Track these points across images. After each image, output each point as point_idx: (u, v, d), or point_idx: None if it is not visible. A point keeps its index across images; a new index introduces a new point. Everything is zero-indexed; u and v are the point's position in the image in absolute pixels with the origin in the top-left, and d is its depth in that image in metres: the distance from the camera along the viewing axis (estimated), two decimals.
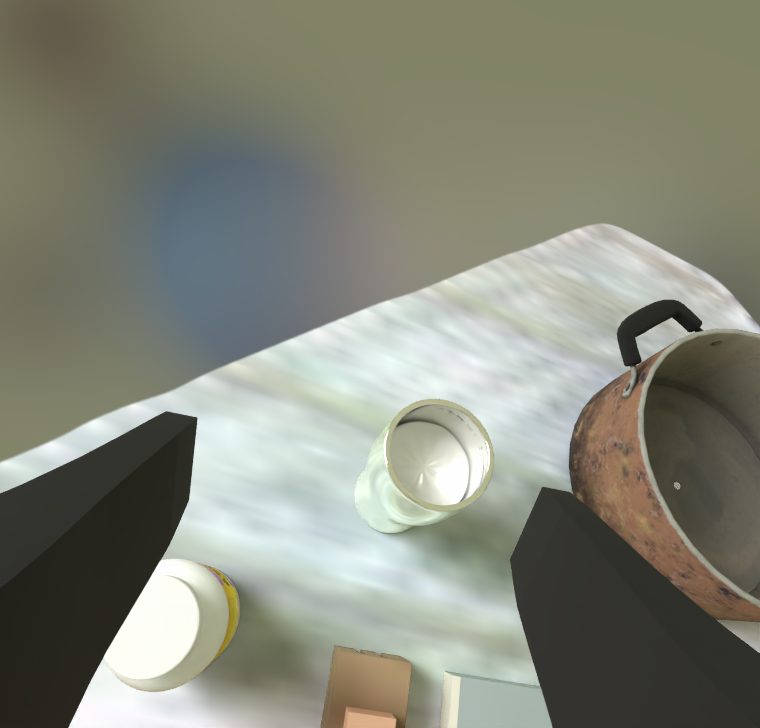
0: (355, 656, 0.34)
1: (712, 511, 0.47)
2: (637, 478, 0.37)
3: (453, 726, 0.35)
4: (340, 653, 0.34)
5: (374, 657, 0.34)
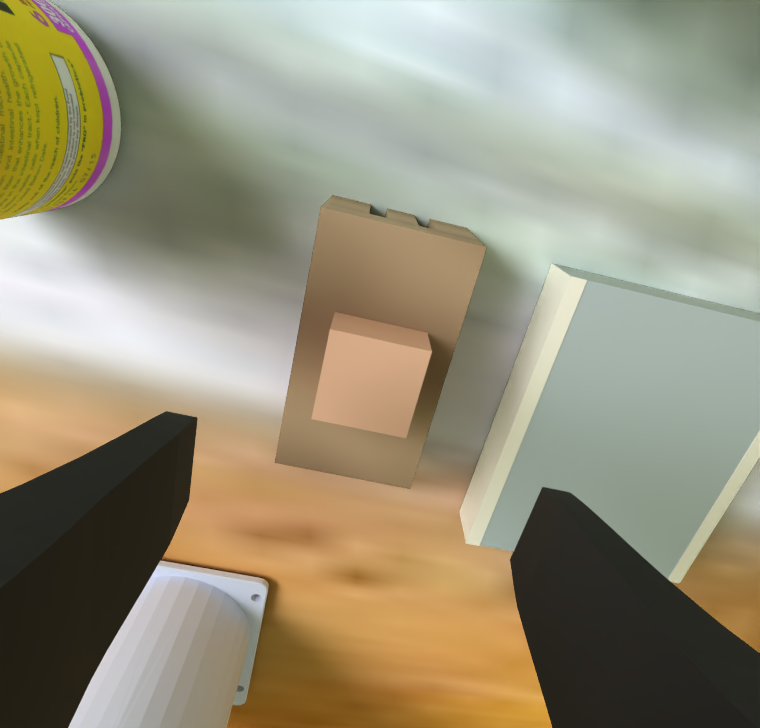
0: (357, 221, 0.15)
1: None
2: None
3: (548, 357, 0.18)
4: (322, 211, 0.14)
5: (401, 227, 0.15)
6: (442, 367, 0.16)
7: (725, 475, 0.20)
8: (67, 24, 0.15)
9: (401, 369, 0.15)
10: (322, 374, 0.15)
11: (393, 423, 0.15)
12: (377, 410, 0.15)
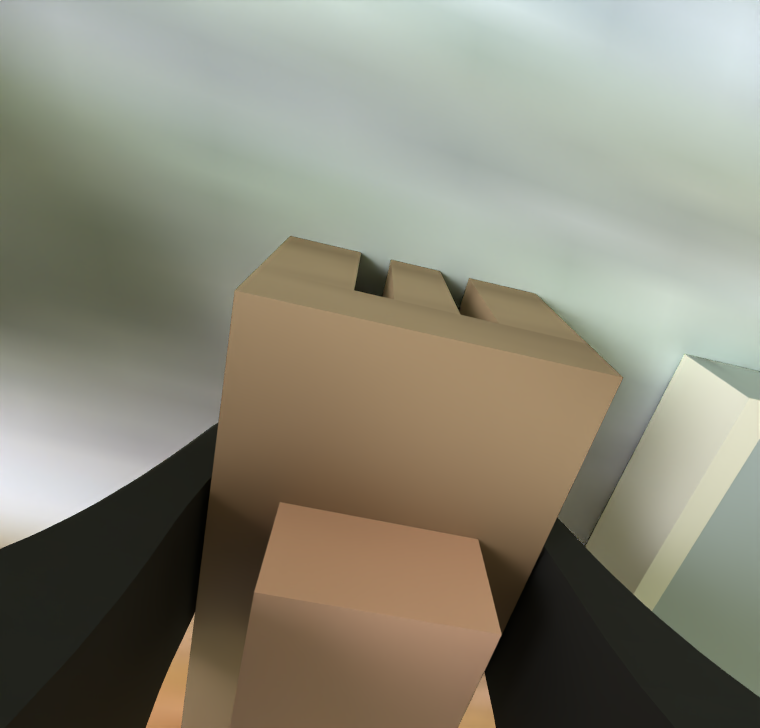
0: (323, 321, 0.06)
1: None
2: None
3: (686, 532, 0.10)
4: (239, 300, 0.06)
5: (427, 333, 0.06)
6: (505, 598, 0.08)
7: None
8: None
9: (427, 666, 0.06)
10: (243, 674, 0.06)
11: None
12: None
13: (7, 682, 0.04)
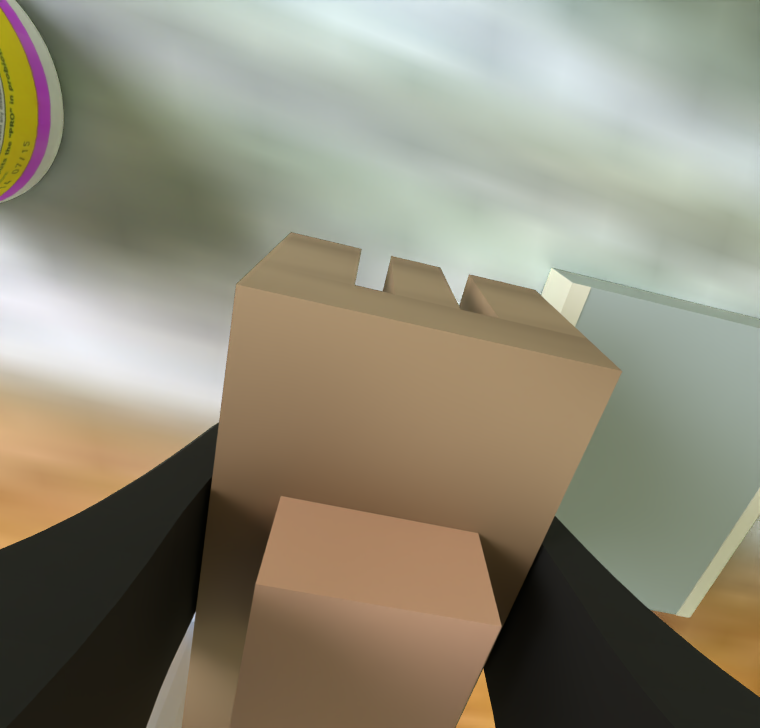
0: (323, 315, 0.06)
1: None
2: None
3: None
4: (241, 294, 0.06)
5: (427, 327, 0.06)
6: (505, 592, 0.08)
7: (742, 502, 0.18)
8: None
9: (428, 658, 0.06)
10: (245, 666, 0.06)
11: None
12: (372, 726, 0.07)
13: (8, 683, 0.04)
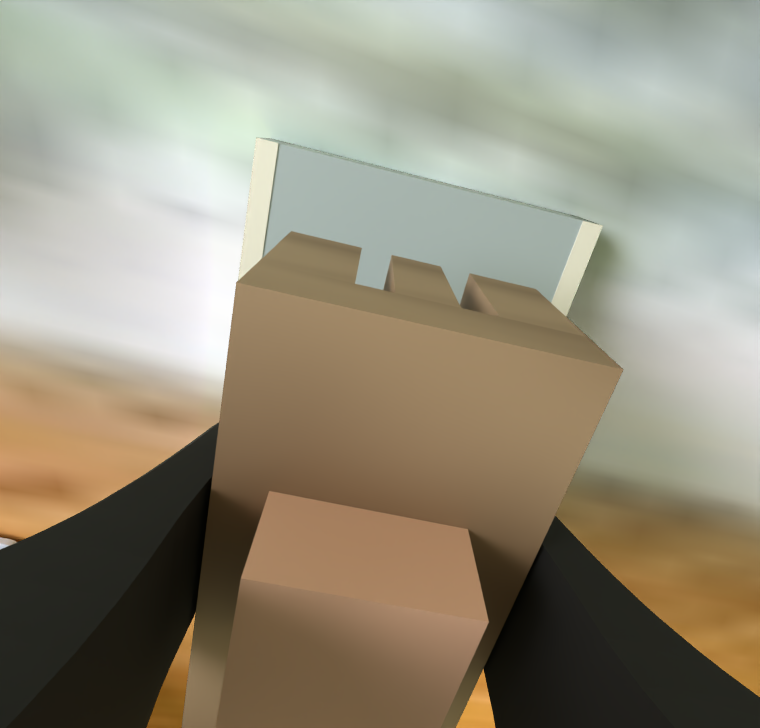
0: (324, 313, 0.06)
1: None
2: None
3: (253, 249, 0.15)
4: (241, 292, 0.06)
5: (428, 325, 0.06)
6: (506, 591, 0.08)
7: None
8: None
9: (415, 654, 0.06)
10: (231, 661, 0.06)
11: None
12: (360, 723, 0.07)
13: (9, 682, 0.04)
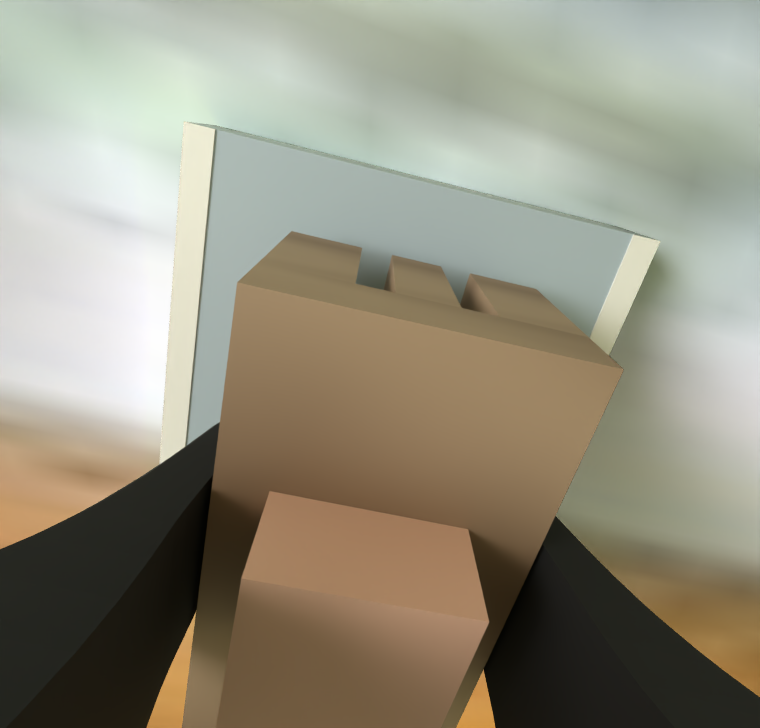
0: (325, 313, 0.06)
1: None
2: None
3: (188, 273, 0.11)
4: (242, 292, 0.06)
5: (429, 325, 0.06)
6: (507, 590, 0.08)
7: None
8: None
9: (415, 654, 0.06)
10: (231, 661, 0.06)
11: None
12: (360, 723, 0.07)
13: (7, 683, 0.04)
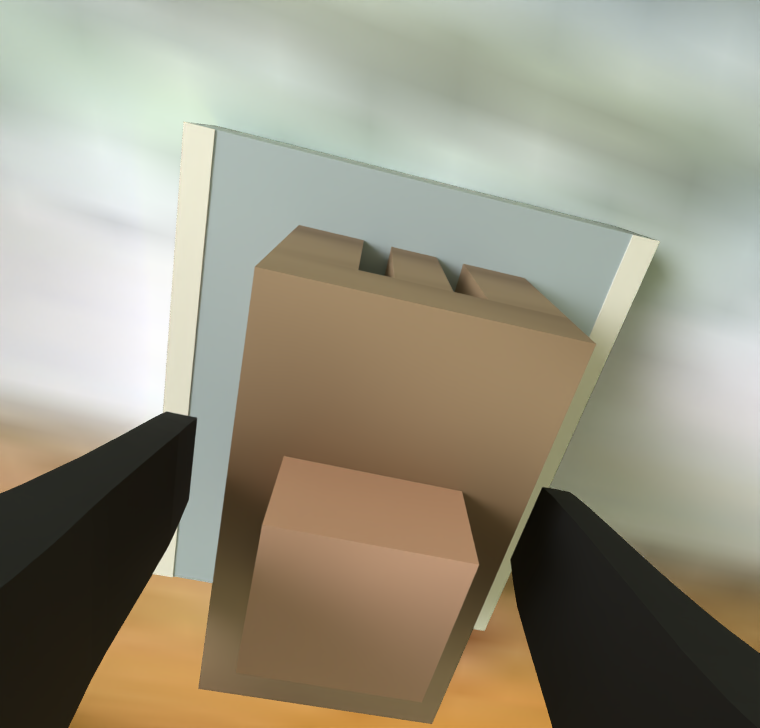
0: (331, 294, 0.07)
1: None
2: None
3: (188, 274, 0.11)
4: (259, 275, 0.07)
5: (423, 305, 0.07)
6: (495, 549, 0.09)
7: None
8: None
9: (414, 594, 0.07)
10: (252, 602, 0.07)
11: (397, 679, 0.08)
12: (365, 660, 0.08)
13: None
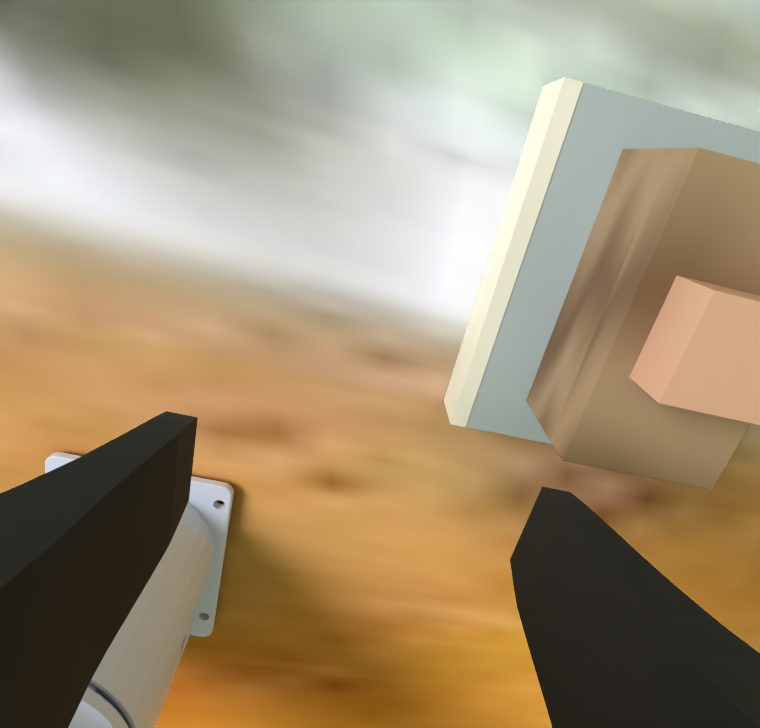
0: (738, 165, 0.12)
1: None
2: None
3: (539, 184, 0.16)
4: (699, 153, 0.12)
5: None
6: None
7: None
8: None
9: None
10: (688, 347, 0.12)
11: (755, 407, 0.13)
12: (741, 392, 0.13)
13: None
